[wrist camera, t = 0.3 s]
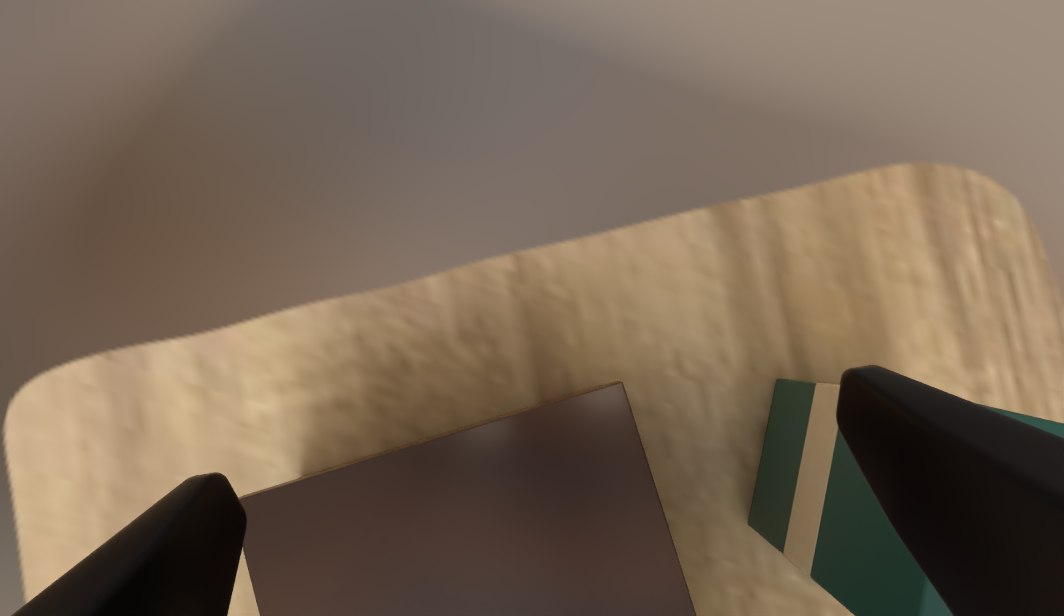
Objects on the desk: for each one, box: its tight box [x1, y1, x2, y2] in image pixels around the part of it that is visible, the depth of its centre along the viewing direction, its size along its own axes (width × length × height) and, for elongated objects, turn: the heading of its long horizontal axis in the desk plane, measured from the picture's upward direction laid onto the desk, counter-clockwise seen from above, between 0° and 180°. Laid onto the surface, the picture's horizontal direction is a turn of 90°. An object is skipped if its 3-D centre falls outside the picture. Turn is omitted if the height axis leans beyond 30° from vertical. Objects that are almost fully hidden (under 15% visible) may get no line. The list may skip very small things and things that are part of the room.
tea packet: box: [748, 379, 1064, 616], centre depth 17 cm, size 5×6×10 cm
